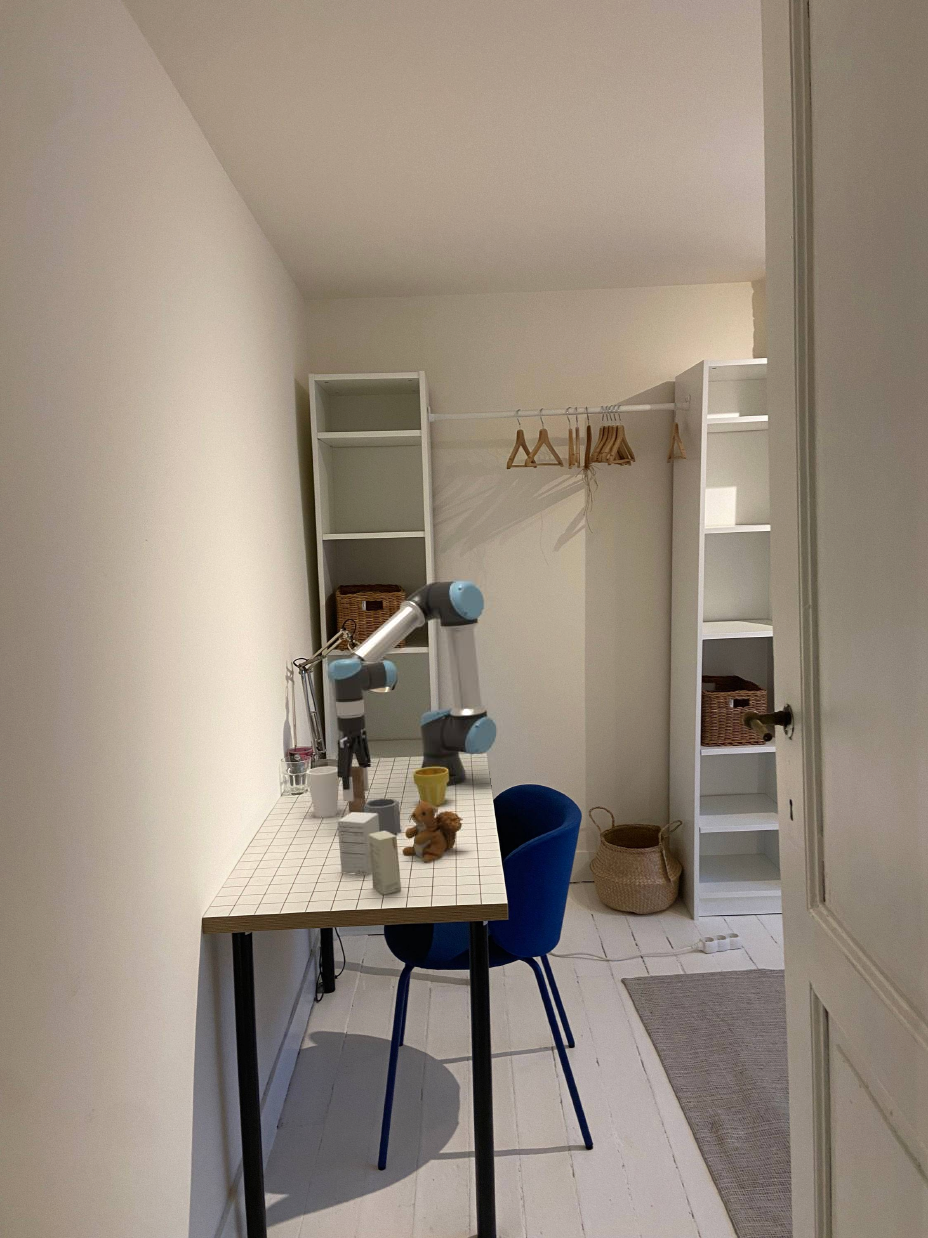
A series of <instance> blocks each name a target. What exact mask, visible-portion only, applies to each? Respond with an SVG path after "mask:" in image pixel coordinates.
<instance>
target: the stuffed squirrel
mask: <svg viewBox="0 0 928 1238" xmlns="http://www.w3.org/2000/svg"><path fill="white" fill-rule="evenodd" d="M438 811H439V806H433V805H431V804H429V803H426V802H424V801H421V800H420V803H419V804H418V805H417V806H416V808H415V809H414V810H413V811H412V813H411V814H410V815H409V816H408V819H407V820H408V822H409V823H411V820H412V821H413V823H414V824H416V825H414V826H412V827H409V828H407V829H406V830H405V837H406V838H407V839H410V840H411V839H413V845H412V846H405V847H404V848H403V849H402V851H401V852H402V854H403V855H404V856H415V855H417V856H419V858H420V857H421V858H422V859H423V862H424V863H425V864H426V863H432V862H434V861H436V860H440V859H441V858H442V857H443V855H444V853H445V852H446V853H448V851H450V850H451V849H453V848H454V845H455V844H456V839H457V832H459V831H460V830H462V826H463V823H462V822H461V821H464V819H463V818H462V817H461V816H459V815H458V813H455V812H453V811H447V810H445V811H444V812H443V811H442V812H439V813H438ZM437 813H438V814H437Z"/></svg>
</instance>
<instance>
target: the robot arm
mask: <svg viewBox="0 0 928 1238" xmlns="http://www.w3.org/2000/svg"><path fill="white" fill-rule="evenodd" d="M484 607H485V600H484V596H483V594H482V590H481V589H480V588H479V587H478V586H477V585H476V584H475V583H473V582H471V581H462V580H455V581H452V580H451V581H436V582H435V581H434V582H431V583H428V584H425V585H424V586H422V587H420V588H419V589H417V590H416V591H414V592H413V593H412V594H411V595H409V596H408V597H407V598H406V599H405V600H403V601H402V602H401V603H400V606H399V609H398V610H397V611H396V613H393V615H392V616H390V618H388V620H386V621H385V622H384V623H383V624H382V625H381V626H379V627H378V629H376V630H375V631H374V632H372V634H371V635H370V636H368V637H367V638H366V639H365V640H364V641H362V643H360V645H358V646H357V647H355V649H354V650H352V652H350V654H348V655H347V656H346V657H344V659H338V660H334V661H332V662H331V663H330V664H329V666H328V667H327V671H326V672H327V674H326V675H327V679H328V681H330V683H331V684H333V685H334V694H335V704H334V705H335V707H336V715H337V716H338V717H337V718H336V721H337V724H336V725H337V730H338V731H339V732H341V733H342V739H337V743H336V744H337V766H336V767H337V776H338V778H339V779H340V778H341V782H342V783H341V784H342V785H341V786H342V787H341V788H342V797H343V798H342V799H343V802H348V801H354V796H353V782H352V777H350V775H351V767H352V766H353V758H354V755H355V759H356V761H357V764H358V766H361V767H363V775H364V789H365V792H369V791H370V788H369V787H370V786H369V773H368V772H369V771H368V770H369V769H368V768H371V767H372V766H371V765H372V764H371V762H372V760H371V756H370V749H369V745H368V739H367V735H368V734H367V730H364V729H365V728H366V720H365V718H366V717H365V715H364V713H365V700H364V692H367V691H372V690H377V689H378V690H379V689H385V688H388V687H391V686H393V685H394V684H395V683H396V681H397V679H398V678H397V677H398V674H397V668H396V666H395V664H394V663H393V662H392V661H390V660H382V659H383V658H384V657H386V655H388V654H389V652H391V651H392V650H393V649H394V648H396V646H397V645H399V644H400V643H401V642H402V641H403V640H404V639H405V638H406V637H407V636H409V634H410V633H412V632H413V631H414V630H415V629H416V628H420V627H423V626H424V625H425V624H426V623H428V622H430V621H433V620H439V621H440V622H439V623H440V628H441V629H443V630H444V631H445V632H446V640H447V643H446V644H447V651H448V662H449V671H450V672H449V673H450V681H451V689H452V699H453V707H452V708H451V707H450V708H443V709H437V710H431V711H426V712H424V713H423V714H422V715H421V716H420V732H421V744H422V754H423V759H422V763H421V767H420V769H421V768H426V767H444V768H447V769H448V771H449V781H448V782H447V786H451V785H455V784H460V783H463V782H464V781H466V779H467V777H466V773H467V772H466V770H465V767H464V765H463V762H462V760H461V757H460V753H466V754H469V755H482V754H485V753H487V752H488V751H489V750H491V748H492V747H493V744H494V743H495V741H496V737H497V733H498V731H497V725H496V722H495V721H494V720H493V719H492V718H491V717H489V716H488V711H487V710H488V709H487V708H486V706H484V705H483V704H482V699H481V697H482V696H481V690H480V689H481V688H480V679H479V668H478V658H477V647H476V637H475V628H476V626H477V625H478V623H479V619H478V618H479V617H480V616H482V614H483V610H484Z"/></svg>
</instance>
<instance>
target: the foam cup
mask: <svg viewBox="0 0 928 1238" xmlns="http://www.w3.org/2000/svg"><path fill="white" fill-rule="evenodd" d="M337 767H338V766H318V767H314V768H311V769H308V770H306V781H307V783H308V787H309V793H310V797H311V801H312V807H313V810H314V811H313V812H314V815H315V817H317V818H320V819H323V818H330V817H329V816H332V817H334V816H336V815H337V814H338V807H339V806H338V805H339V804H338V803H339V786H340V778H338V776H337Z"/></svg>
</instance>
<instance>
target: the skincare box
mask: <svg viewBox="0 0 928 1238" xmlns="http://www.w3.org/2000/svg"><path fill="white" fill-rule="evenodd" d="M368 836H369V847H370V859H371V870H372V873H371V881H372V888H373V889H374V890H376V891H377V892H379V893H380V894H382V895H389V894H392V893H396V892H399V891H402V886H401V885H402V883H401V875H400V874H401V872H400V861H399V851H398V850H399V849H398V838H397V835H394V834H392V833H390V832H387V831H381V832H376V833H372V834H369V835H368Z"/></svg>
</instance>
